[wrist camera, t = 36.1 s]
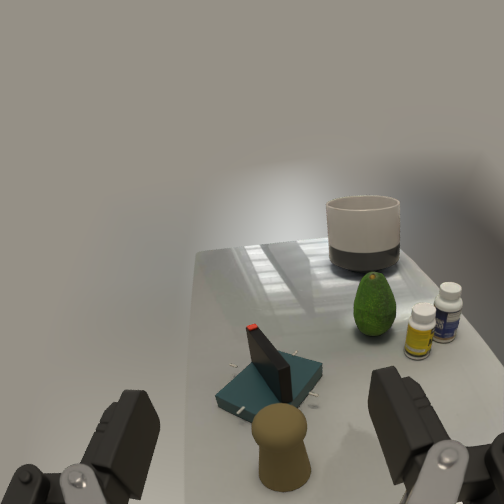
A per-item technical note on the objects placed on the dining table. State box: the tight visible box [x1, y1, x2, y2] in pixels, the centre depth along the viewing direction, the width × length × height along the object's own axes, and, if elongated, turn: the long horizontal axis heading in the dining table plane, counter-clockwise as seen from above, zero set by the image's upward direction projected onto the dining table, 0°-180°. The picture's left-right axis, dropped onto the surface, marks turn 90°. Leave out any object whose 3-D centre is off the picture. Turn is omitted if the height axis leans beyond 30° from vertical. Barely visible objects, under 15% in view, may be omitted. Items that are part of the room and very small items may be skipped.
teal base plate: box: [215, 350, 322, 423], centre depth 41 cm, size 15×15×3 cm
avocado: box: [354, 272, 396, 336], centre depth 49 cm, size 8×8×12 cm
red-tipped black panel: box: [246, 324, 293, 404], centre depth 40 cm, size 11×2×7 cm, turn 21°
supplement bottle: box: [404, 303, 436, 360], centre depth 42 cm, size 5×5×8 cm
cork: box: [252, 403, 311, 492], centre depth 26 cm, size 6×6×11 cm
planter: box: [326, 195, 400, 273], centre depth 76 cm, size 19×19×18 cm
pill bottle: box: [433, 282, 463, 343], centre depth 44 cm, size 5×5×10 cm
